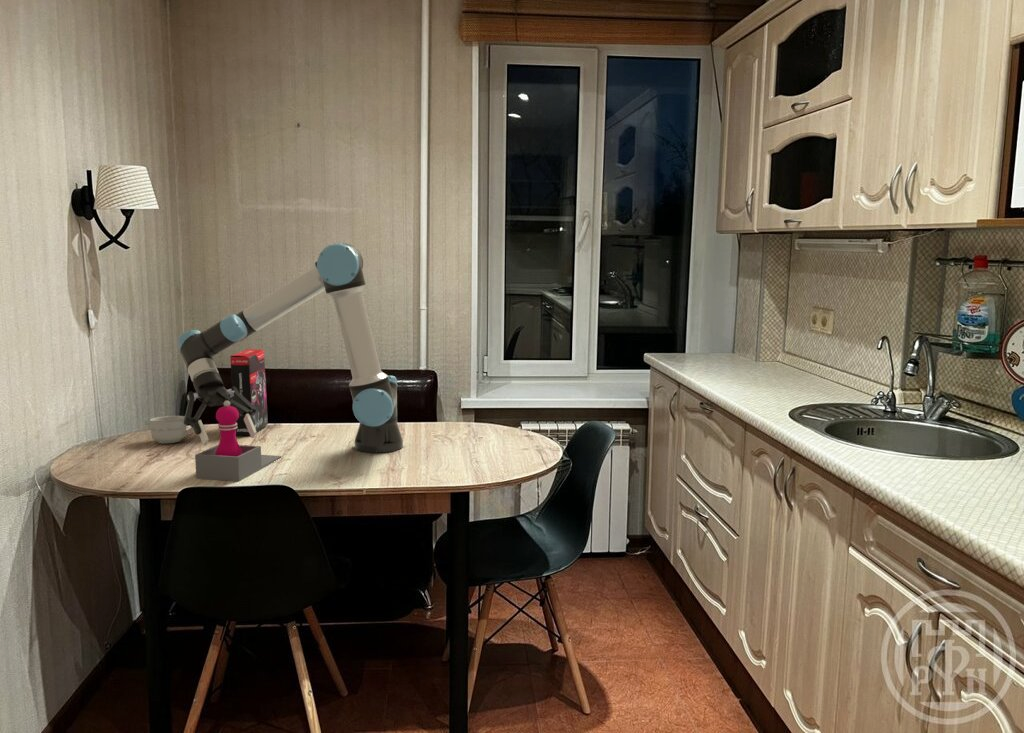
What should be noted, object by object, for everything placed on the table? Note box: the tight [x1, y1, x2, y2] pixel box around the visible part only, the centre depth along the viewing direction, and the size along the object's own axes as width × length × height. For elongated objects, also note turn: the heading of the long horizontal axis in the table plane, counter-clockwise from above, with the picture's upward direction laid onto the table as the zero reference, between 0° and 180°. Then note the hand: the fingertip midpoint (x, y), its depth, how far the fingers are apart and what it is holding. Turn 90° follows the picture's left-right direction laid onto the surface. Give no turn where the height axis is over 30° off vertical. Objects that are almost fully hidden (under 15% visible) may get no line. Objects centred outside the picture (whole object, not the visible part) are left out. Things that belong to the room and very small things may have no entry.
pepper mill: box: [215, 400, 242, 456], centre depth 223 cm, size 7×7×20 cm
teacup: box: [149, 415, 194, 444], centre depth 260 cm, size 14×11×8 cm
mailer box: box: [194, 443, 282, 482], centre depth 230 cm, size 13×25×7 cm, turn 170°
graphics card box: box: [230, 348, 269, 437], centre depth 275 cm, size 17×7×27 cm, turn 0°
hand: (230, 439), depth 222 cm, fingers open, 13 cm apart
